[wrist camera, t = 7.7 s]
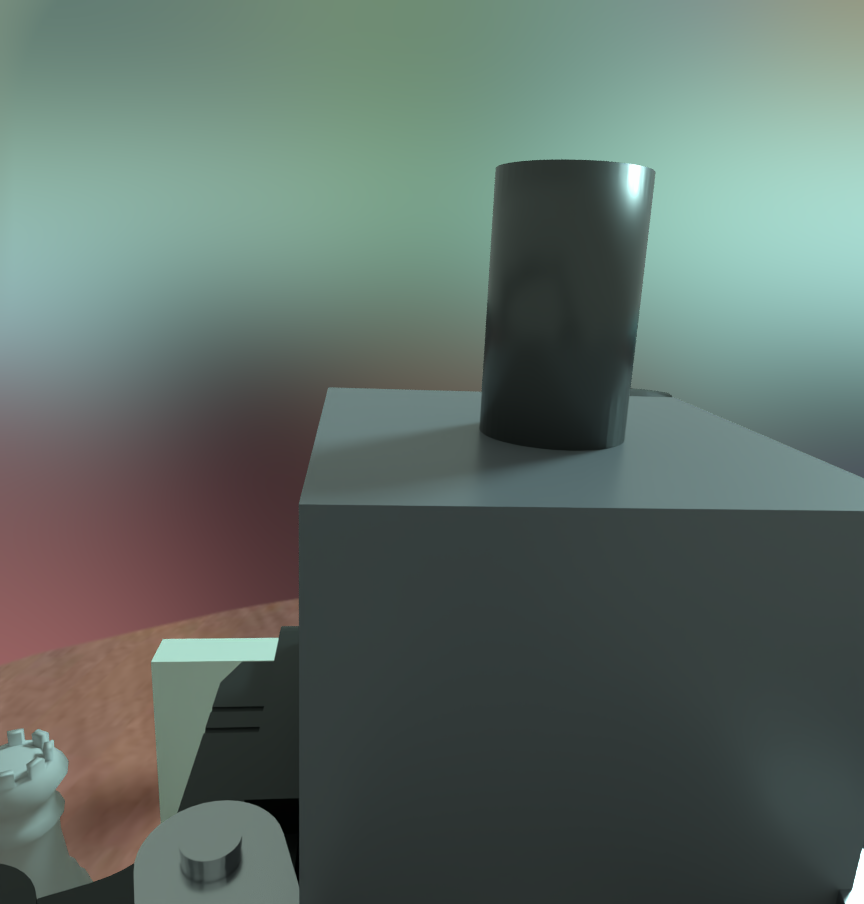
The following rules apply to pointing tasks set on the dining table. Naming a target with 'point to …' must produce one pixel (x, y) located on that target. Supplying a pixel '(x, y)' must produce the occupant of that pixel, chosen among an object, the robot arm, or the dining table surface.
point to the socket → (191, 701)
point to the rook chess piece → (35, 813)
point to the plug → (574, 612)
